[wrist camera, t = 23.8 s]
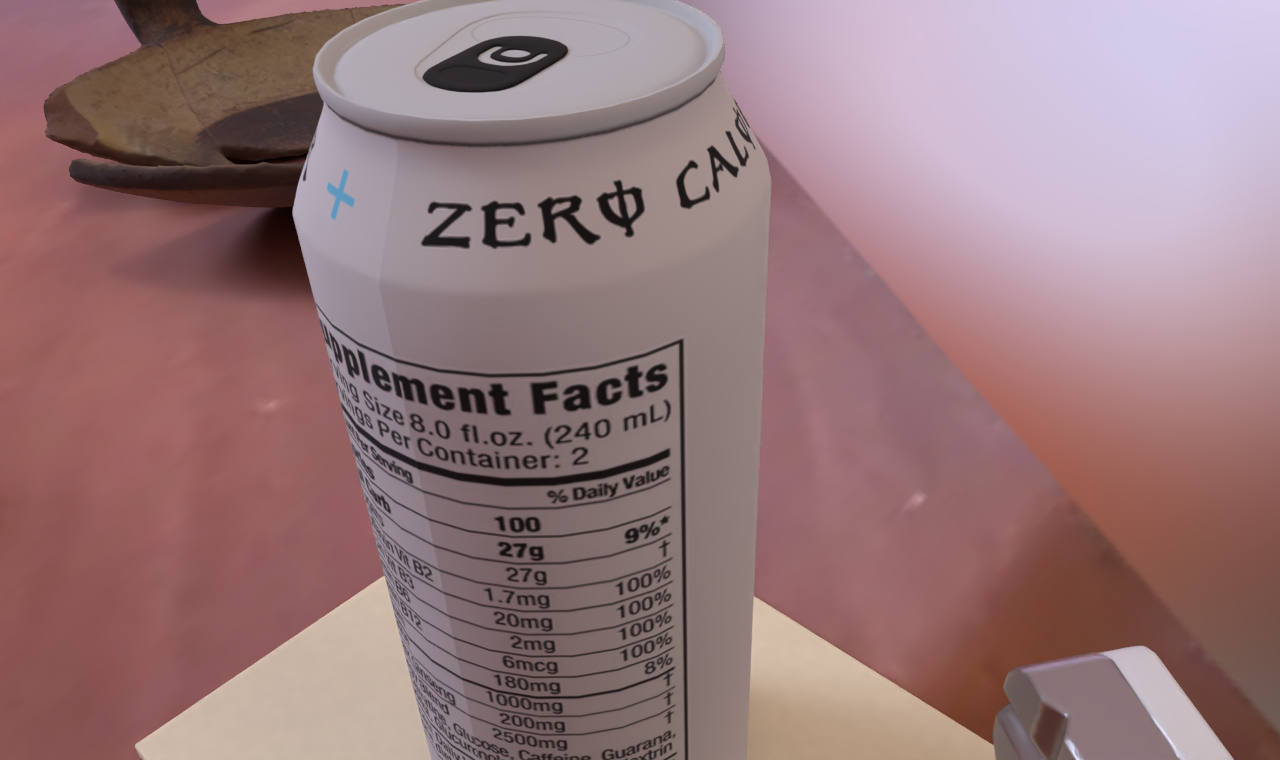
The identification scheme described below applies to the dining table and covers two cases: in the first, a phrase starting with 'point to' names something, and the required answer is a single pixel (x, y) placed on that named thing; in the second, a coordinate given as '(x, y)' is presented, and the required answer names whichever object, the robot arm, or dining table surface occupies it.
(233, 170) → the olive ceramic shallow bowl
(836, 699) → the beige rectangular board
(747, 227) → the energy drink can
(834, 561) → the dining table surface
